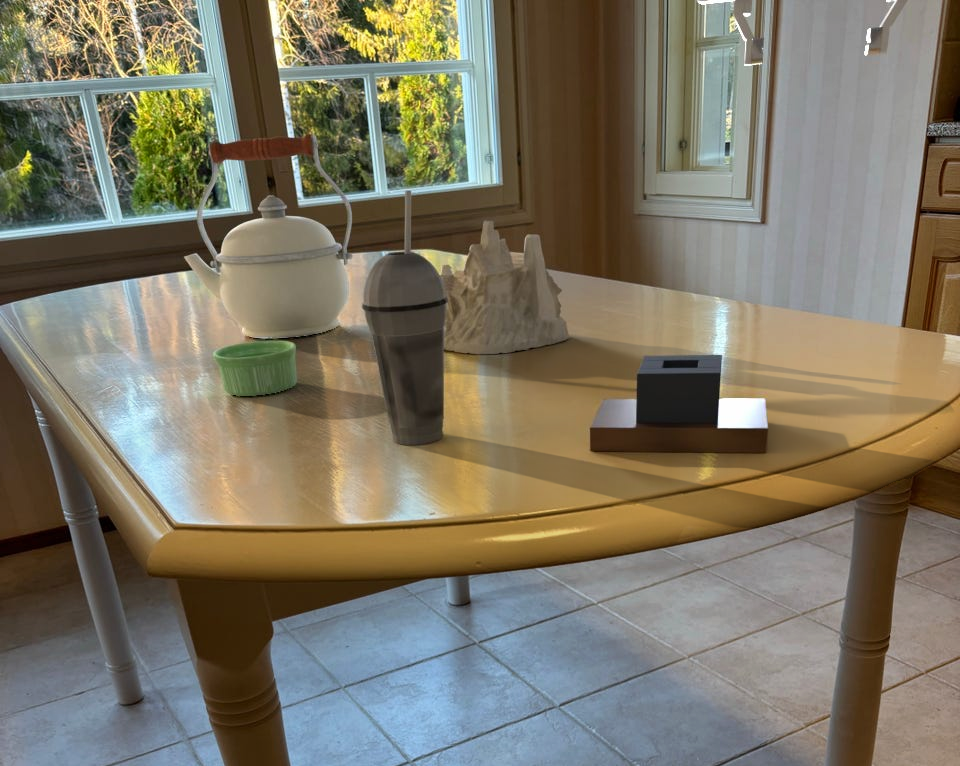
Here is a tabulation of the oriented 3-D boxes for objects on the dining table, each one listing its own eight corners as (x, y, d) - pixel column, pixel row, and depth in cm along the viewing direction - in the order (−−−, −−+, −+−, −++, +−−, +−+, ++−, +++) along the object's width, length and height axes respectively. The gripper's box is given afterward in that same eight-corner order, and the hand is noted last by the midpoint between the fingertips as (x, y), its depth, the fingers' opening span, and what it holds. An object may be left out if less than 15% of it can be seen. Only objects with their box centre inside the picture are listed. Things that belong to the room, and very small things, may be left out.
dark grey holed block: (719, 402, 80) (722, 354, 78) (717, 423, 74) (720, 372, 72) (643, 402, 81) (643, 355, 79) (636, 423, 76) (636, 373, 74)
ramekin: (315, 379, 106) (310, 340, 104) (275, 400, 99) (268, 358, 97) (249, 378, 109) (242, 339, 107) (204, 397, 102) (196, 357, 100)
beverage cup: (368, 433, 85) (338, 194, 76) (443, 421, 87) (423, 186, 78) (390, 454, 79) (360, 197, 70) (469, 441, 81) (451, 188, 72)
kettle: (377, 315, 142) (356, 130, 130) (350, 339, 127) (323, 131, 115) (221, 323, 146) (187, 144, 134) (176, 347, 130) (132, 146, 118)
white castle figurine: (584, 338, 116) (574, 207, 109) (466, 364, 110) (448, 227, 104) (527, 329, 129) (515, 211, 122) (418, 351, 123) (399, 229, 117)
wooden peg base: (763, 421, 81) (768, 362, 78) (766, 453, 73) (771, 389, 71) (603, 420, 84) (603, 364, 82) (589, 451, 77) (589, 390, 74)
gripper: (688, -150, 69) (681, 69, 75) (992, -193, 64) (956, 45, 70) (692, -131, 74) (685, 72, 81) (973, -169, 69) (940, 50, 76)
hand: (813, 59), depth 75 cm, fingers open, 8 cm apart
